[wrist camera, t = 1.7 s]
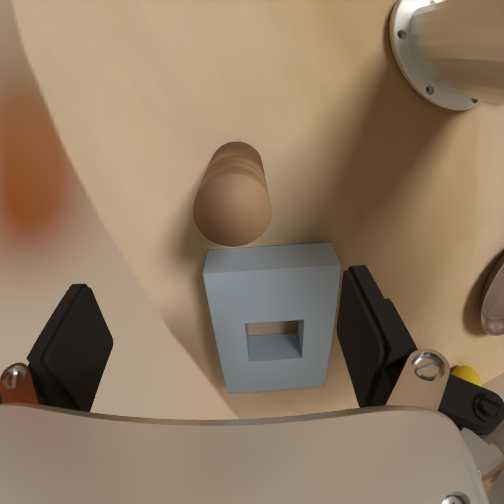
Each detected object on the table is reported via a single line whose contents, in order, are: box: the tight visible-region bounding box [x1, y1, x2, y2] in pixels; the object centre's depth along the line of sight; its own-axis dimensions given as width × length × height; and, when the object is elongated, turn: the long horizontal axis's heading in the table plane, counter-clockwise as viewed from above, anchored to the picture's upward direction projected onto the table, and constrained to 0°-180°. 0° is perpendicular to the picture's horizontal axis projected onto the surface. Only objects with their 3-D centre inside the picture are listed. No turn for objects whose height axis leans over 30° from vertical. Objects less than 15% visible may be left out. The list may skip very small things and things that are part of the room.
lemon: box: [452, 366, 481, 387], centre depth 40 cm, size 6×6×8 cm
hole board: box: [203, 242, 341, 393], centre depth 33 cm, size 12×18×4 cm, turn 4°
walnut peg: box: [194, 142, 271, 247], centre depth 22 cm, size 4×4×10 cm
